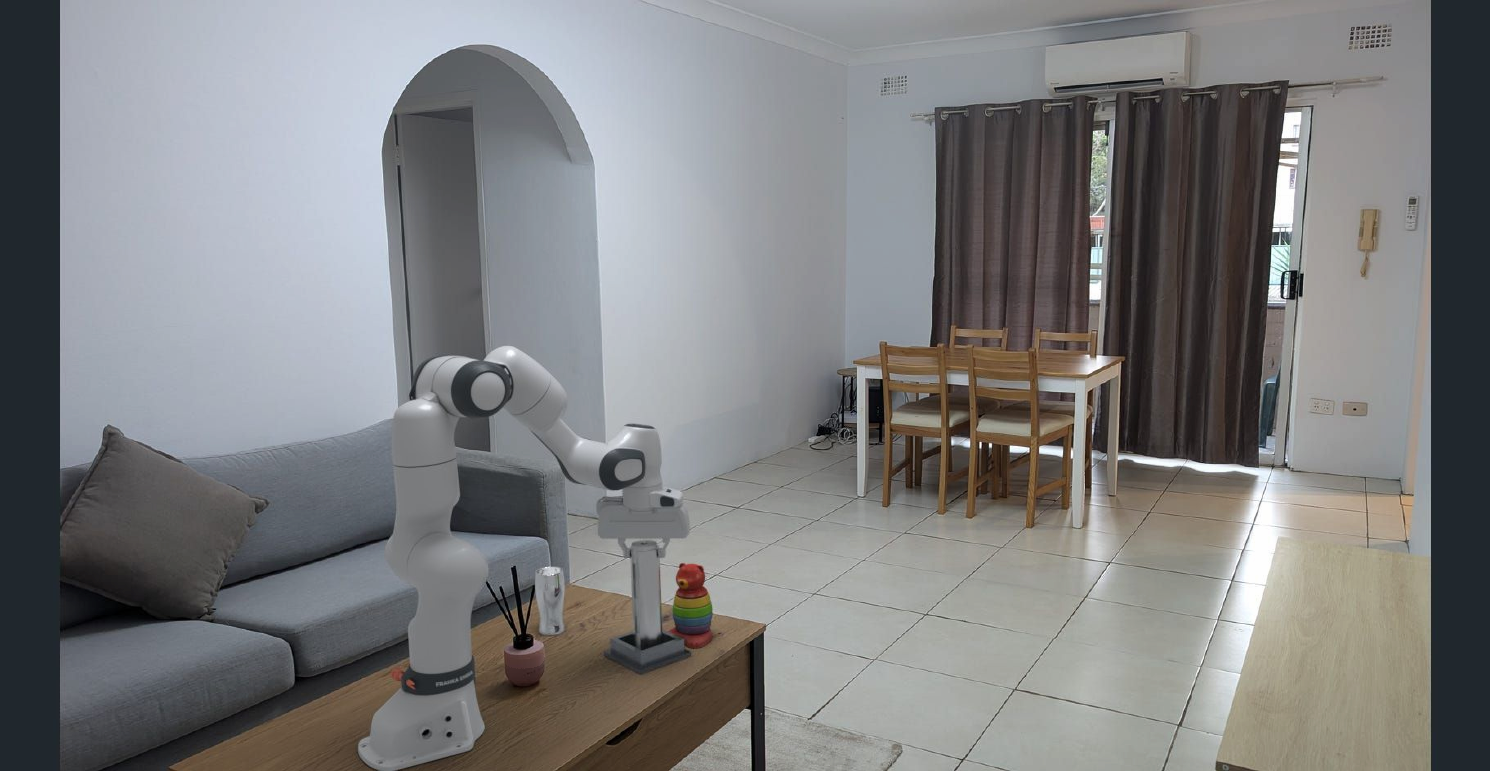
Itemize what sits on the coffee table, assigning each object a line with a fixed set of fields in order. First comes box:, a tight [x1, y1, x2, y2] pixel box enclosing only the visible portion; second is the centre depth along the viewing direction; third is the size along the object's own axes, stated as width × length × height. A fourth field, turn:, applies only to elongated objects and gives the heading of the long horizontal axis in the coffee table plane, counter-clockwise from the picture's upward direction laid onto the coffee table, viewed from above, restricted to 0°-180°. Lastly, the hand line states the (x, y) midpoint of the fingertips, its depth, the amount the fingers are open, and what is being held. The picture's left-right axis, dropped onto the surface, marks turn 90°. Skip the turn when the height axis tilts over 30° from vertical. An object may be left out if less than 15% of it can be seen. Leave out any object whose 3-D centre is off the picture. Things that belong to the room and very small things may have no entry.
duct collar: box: [603, 628, 692, 675], centre depth 217 cm, size 14×14×4 cm
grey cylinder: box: [629, 539, 663, 651], centre depth 217 cm, size 6×6×25 cm
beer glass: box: [534, 566, 566, 637], centre depth 232 cm, size 7×7×15 cm
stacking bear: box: [668, 562, 713, 649], centre depth 226 cm, size 11×10×18 cm
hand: (644, 557), depth 215 cm, fingers closed on grey cylinder, 6 cm apart
